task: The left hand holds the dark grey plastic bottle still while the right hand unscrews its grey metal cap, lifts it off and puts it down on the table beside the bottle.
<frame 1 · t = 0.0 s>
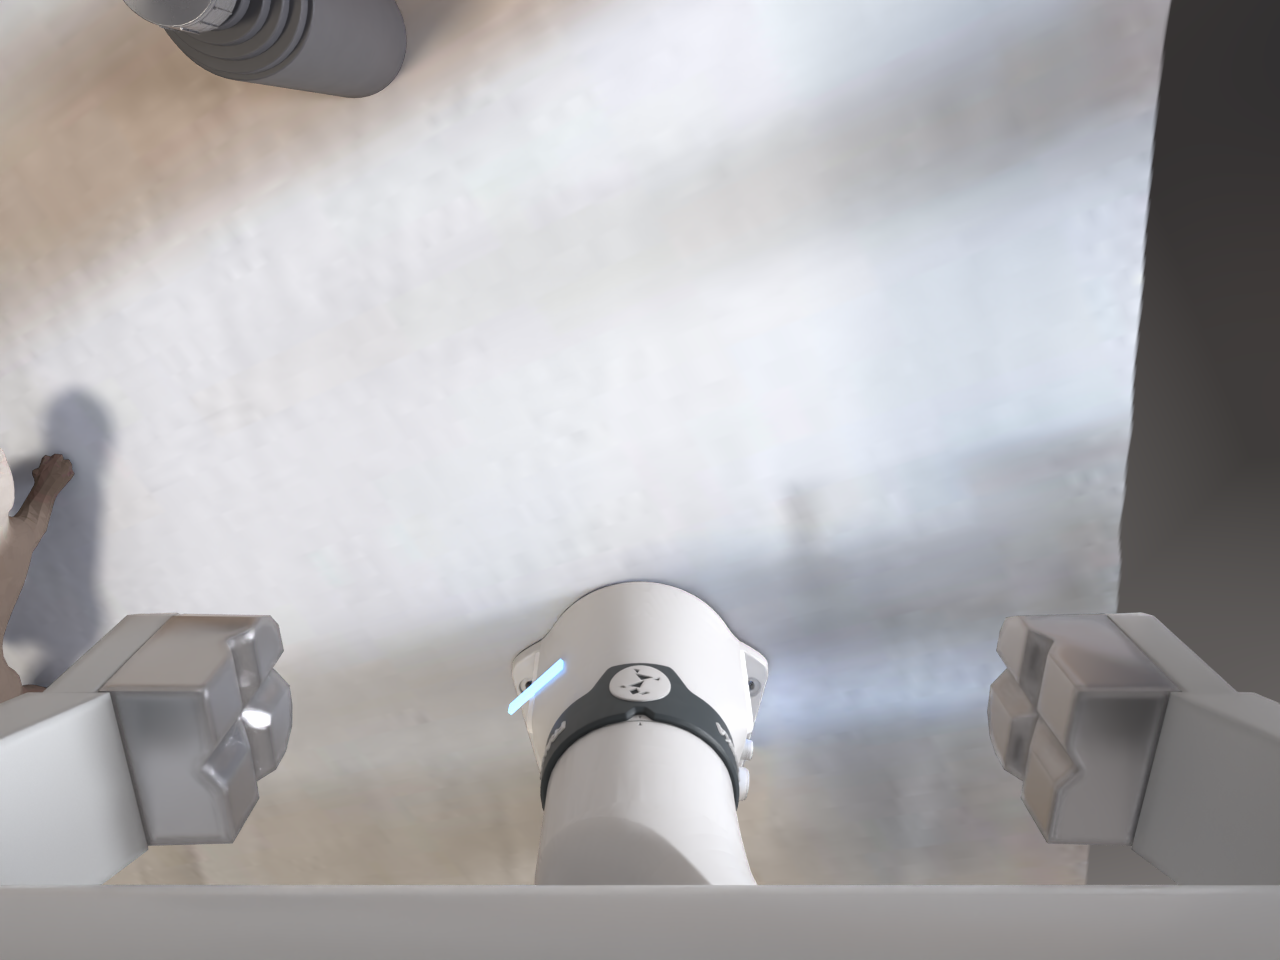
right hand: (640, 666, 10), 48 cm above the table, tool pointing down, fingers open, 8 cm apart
bottle: (348, 34, 51), on the table
toy 2: (19, 568, 63), on the table
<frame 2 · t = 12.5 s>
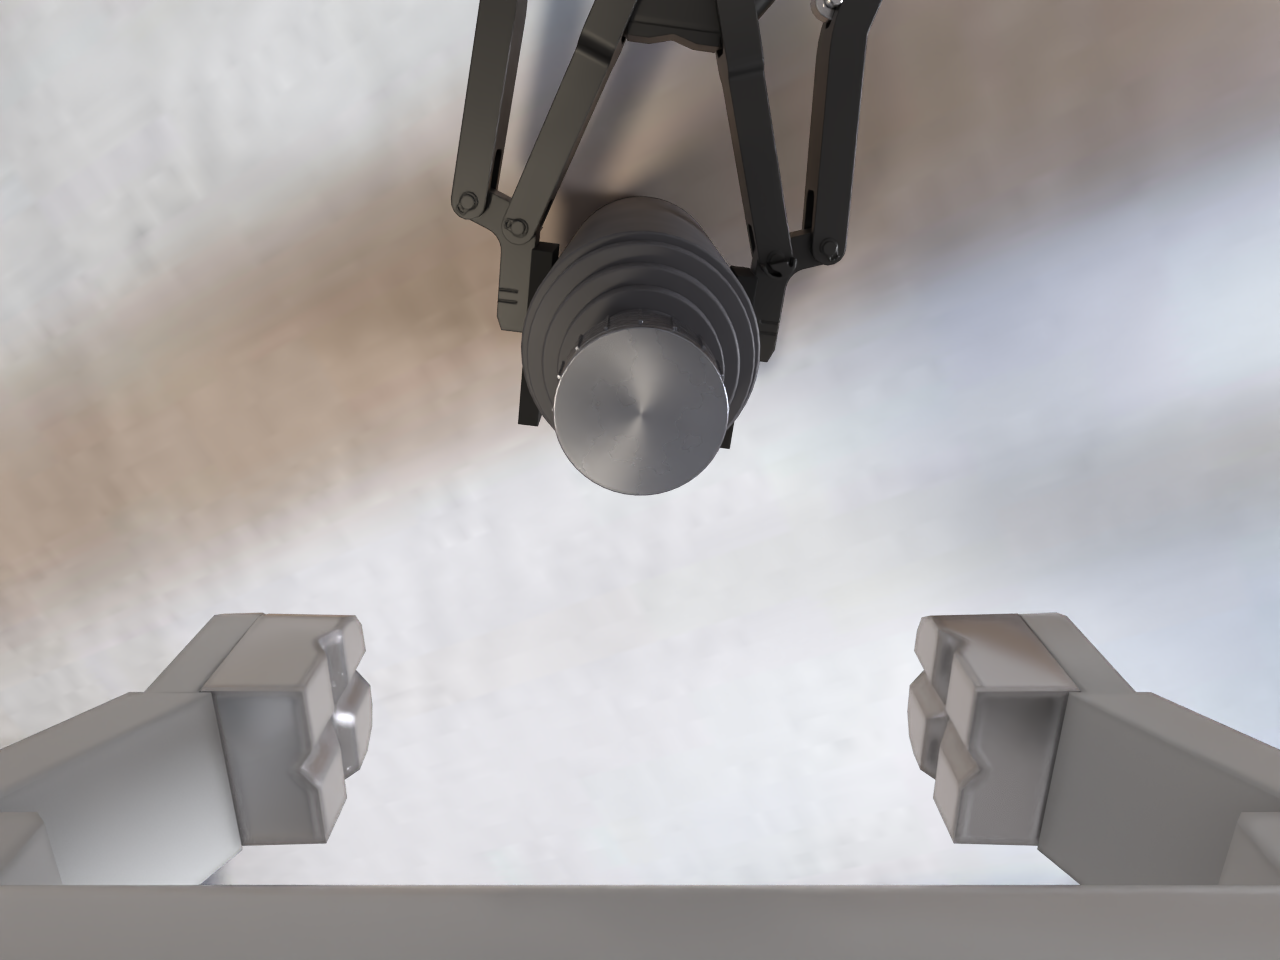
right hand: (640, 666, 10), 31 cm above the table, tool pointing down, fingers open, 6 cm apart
left hand: (625, 425, 35), fingers closed on bottle, 7 cm apart
bottle: (640, 275, 39), on the table, touching left hand
cap: (640, 410, 20), point 21 cm above the table, screwed on, not yet turned
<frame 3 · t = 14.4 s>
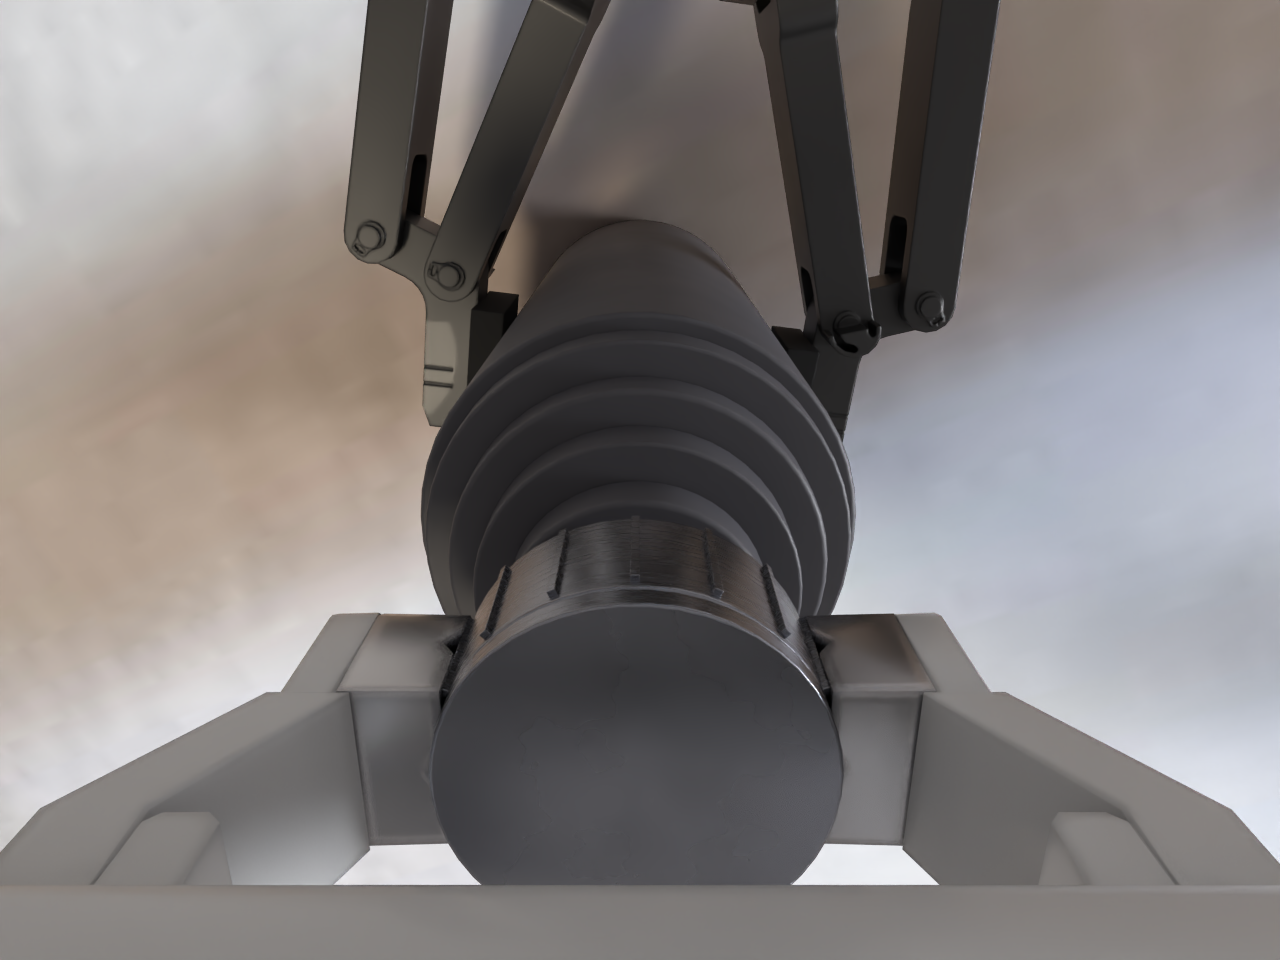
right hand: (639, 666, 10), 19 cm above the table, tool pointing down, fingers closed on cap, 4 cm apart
left hand: (616, 556, 24), fingers closed on bottle, 7 cm apart
bottle: (639, 329, 28), on the table, touching left hand
cap: (636, 766, 8), point 21 cm above the table, screwed on, not yet turned, touching right hand
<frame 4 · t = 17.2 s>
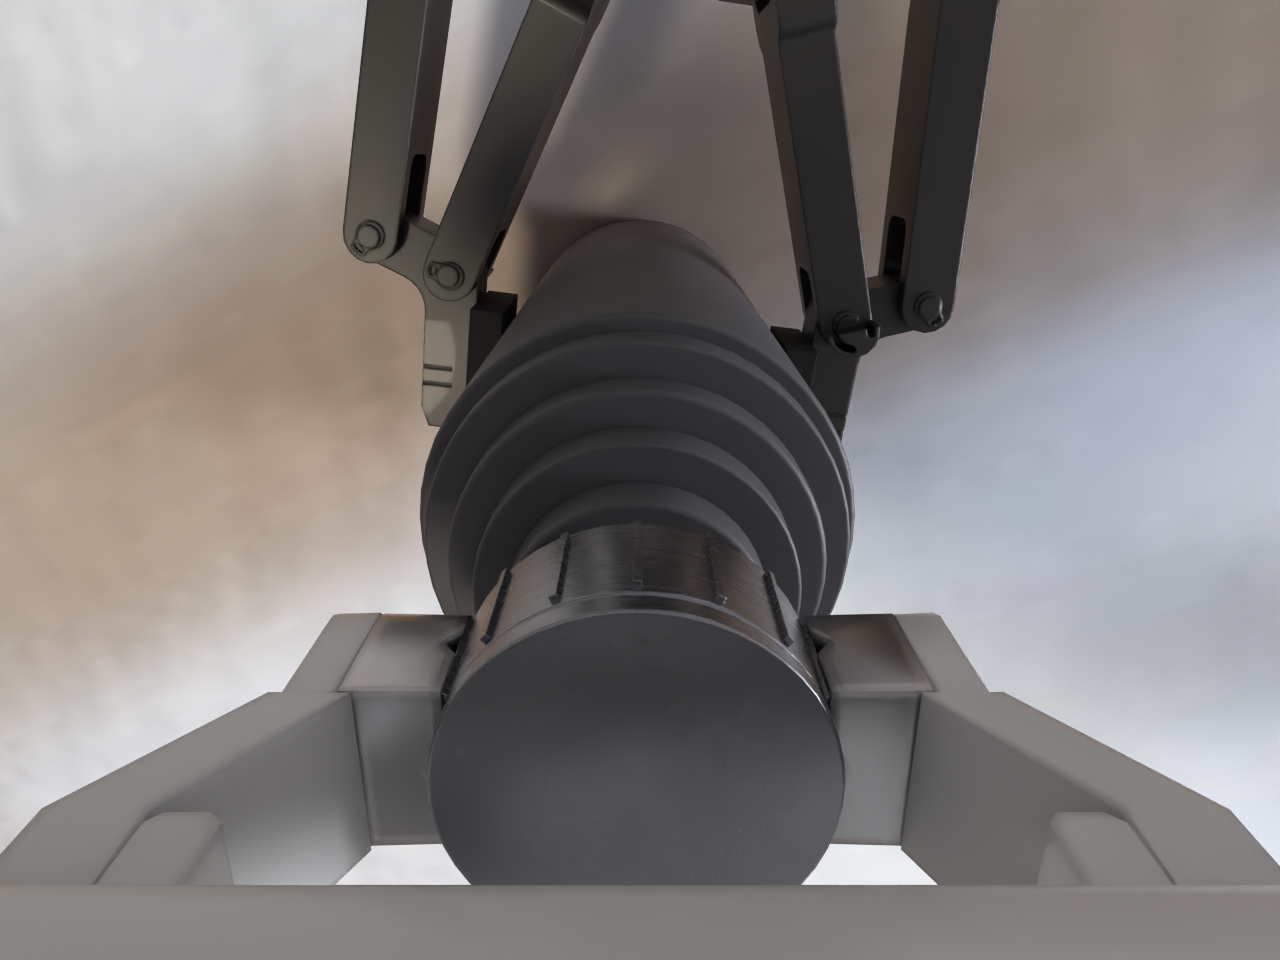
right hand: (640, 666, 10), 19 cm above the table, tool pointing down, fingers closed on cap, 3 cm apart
left hand: (615, 556, 24), fingers closed on bottle, 7 cm apart
bottle: (638, 329, 28), on the table, touching left hand
cap: (635, 773, 8), point 21 cm above the table, turned 67° so far, risen 0.1 cm, still on its thread, touching right hand
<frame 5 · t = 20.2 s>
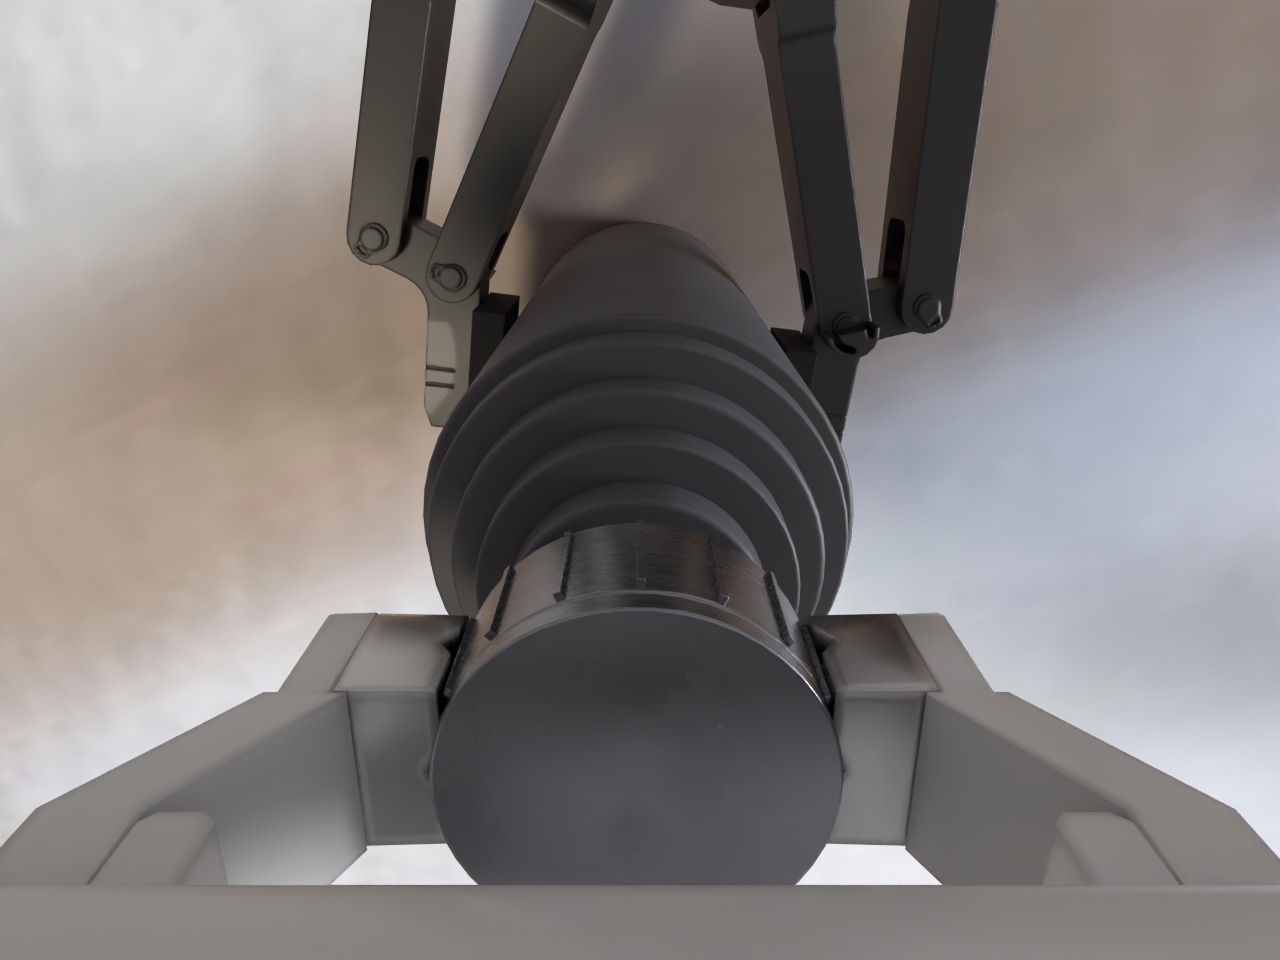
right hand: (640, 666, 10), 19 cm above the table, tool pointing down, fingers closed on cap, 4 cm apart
left hand: (616, 556, 24), fingers closed on bottle, 7 cm apart
bottle: (639, 330, 28), on the table, touching left hand
cap: (636, 770, 8), point 21 cm above the table, turned 134° so far, risen 0.1 cm, still on its thread, touching right hand
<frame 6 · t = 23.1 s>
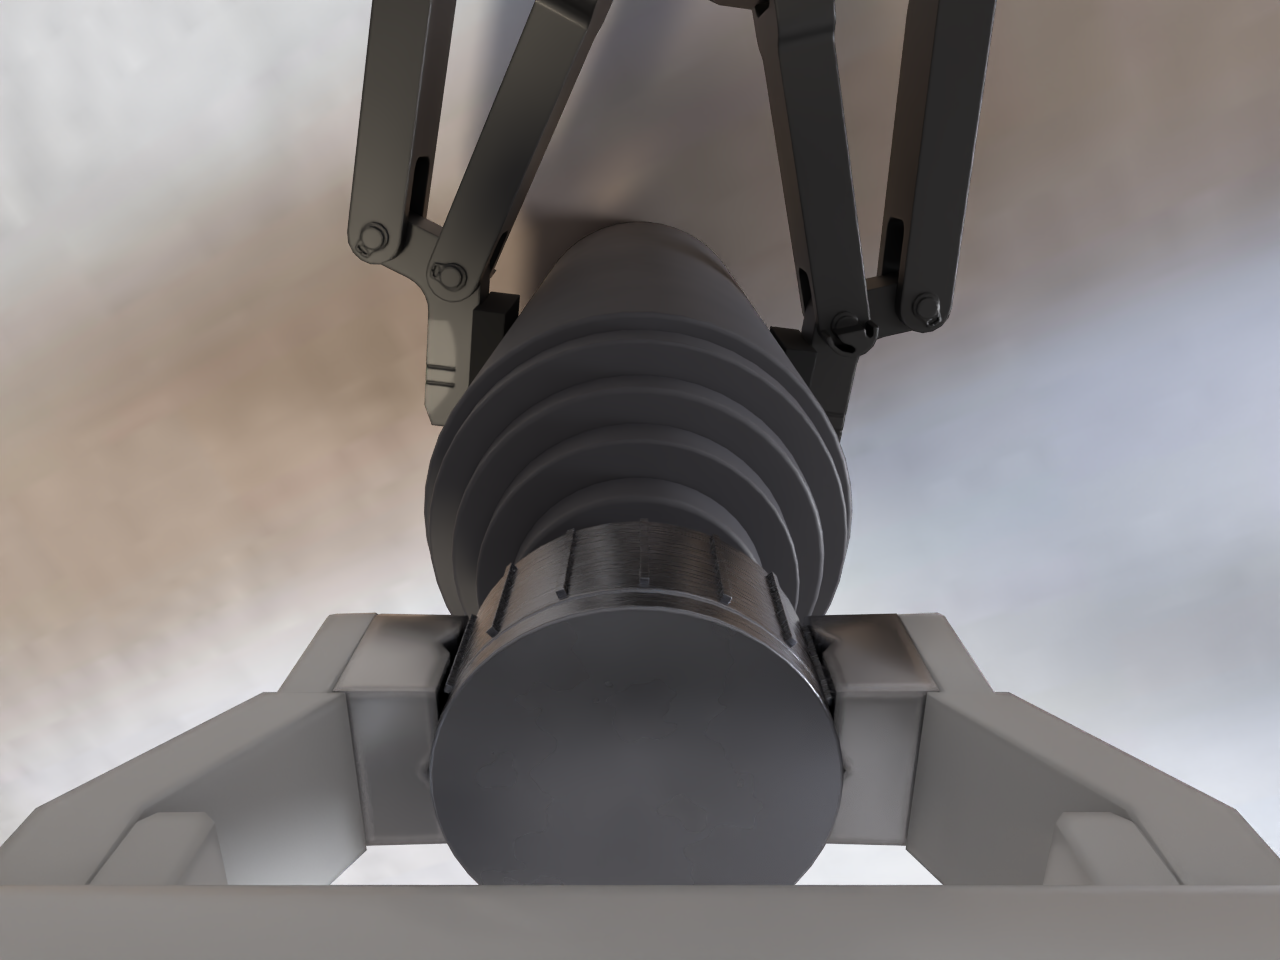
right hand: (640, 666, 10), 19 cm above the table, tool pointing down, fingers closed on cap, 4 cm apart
left hand: (616, 554, 24), fingers closed on bottle, 7 cm apart
bottle: (639, 330, 28), on the table, touching left hand
cap: (636, 769, 8), point 21 cm above the table, turned 200° so far, risen 0.2 cm, still on its thread, touching right hand
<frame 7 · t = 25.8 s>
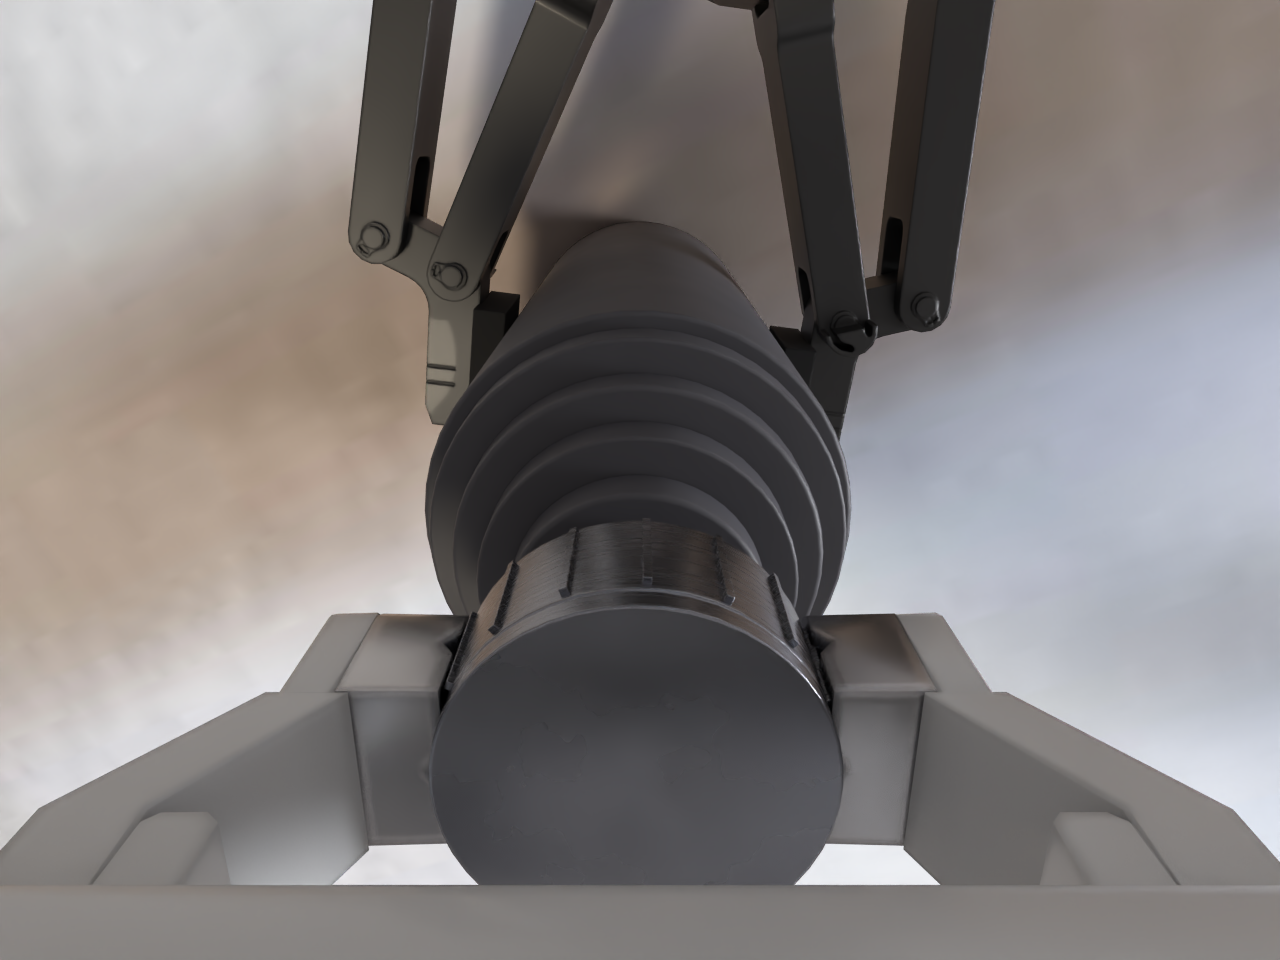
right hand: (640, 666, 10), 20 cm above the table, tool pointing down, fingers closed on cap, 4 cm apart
left hand: (616, 553, 24), fingers closed on bottle, 7 cm apart
bottle: (639, 329, 28), on the table, touching left hand
cap: (636, 768, 8), point 21 cm above the table, turned 267° so far, risen 0.3 cm, still on its thread, touching right hand
when the right hand's fingers open (2 cm above the table, at t = 36.5 s): cap drops 2 cm, point 2 cm above the table.
when the left hand's fingers open (6 cm above the table, at t = 37.6 s): bottle stays where it is, on the table.
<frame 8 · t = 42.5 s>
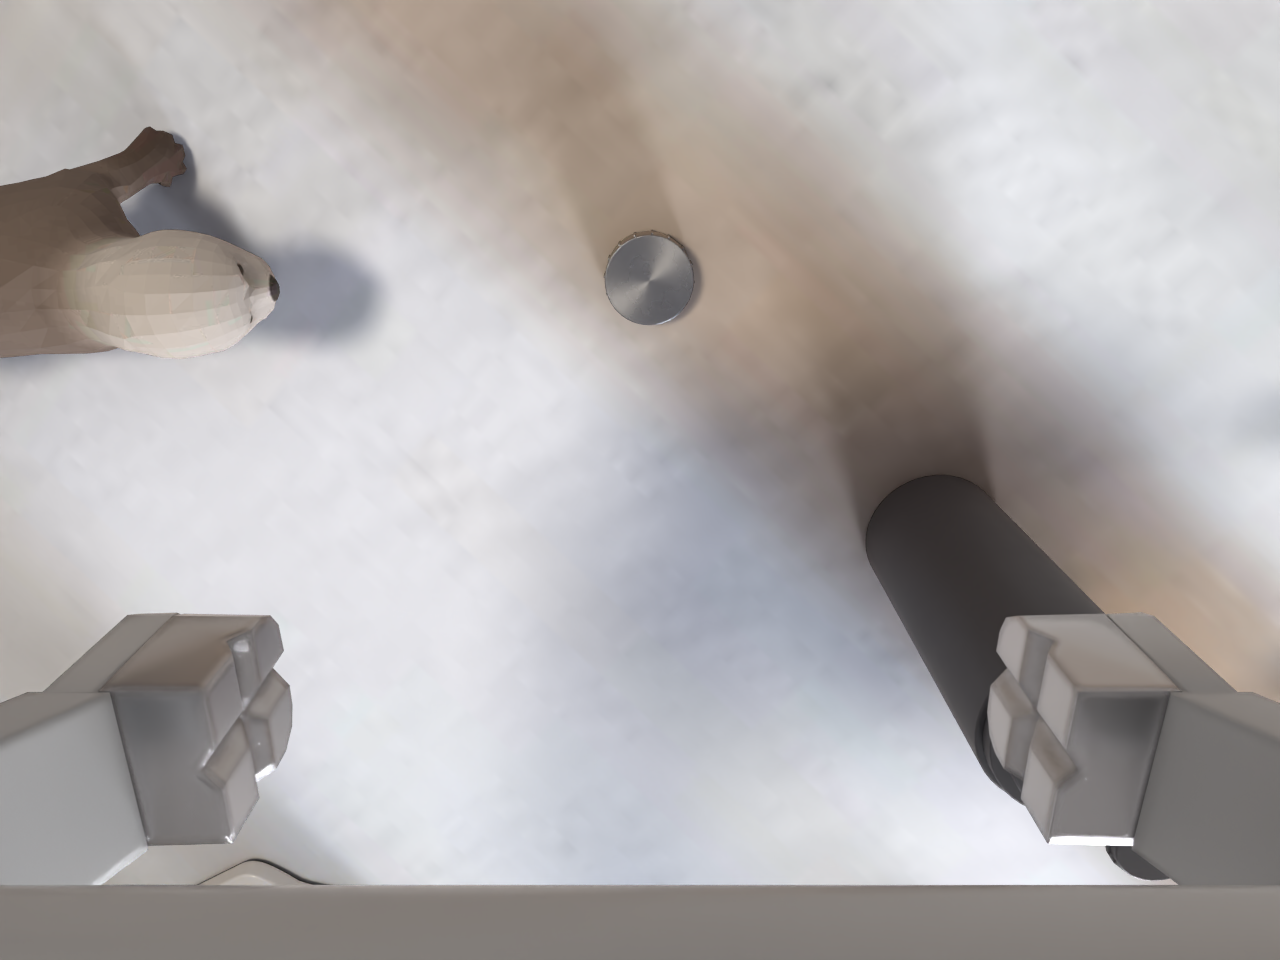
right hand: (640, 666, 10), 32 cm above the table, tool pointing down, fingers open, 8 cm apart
bottle: (932, 536, 44), on the table
cap: (649, 279, 38), point 2 cm above the table, off its thread
toy 2: (38, 230, 39), on the table
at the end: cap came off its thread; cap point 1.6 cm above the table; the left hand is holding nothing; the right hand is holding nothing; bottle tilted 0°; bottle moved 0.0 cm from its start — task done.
